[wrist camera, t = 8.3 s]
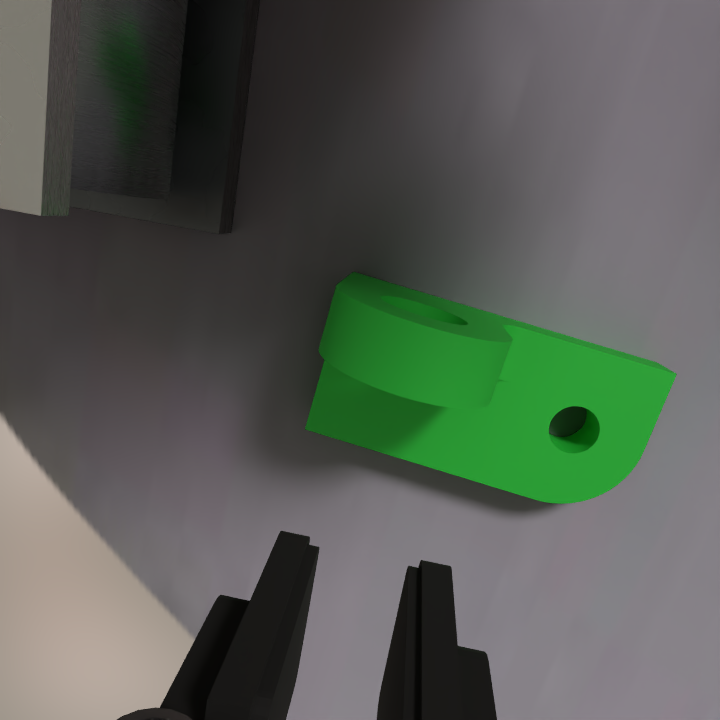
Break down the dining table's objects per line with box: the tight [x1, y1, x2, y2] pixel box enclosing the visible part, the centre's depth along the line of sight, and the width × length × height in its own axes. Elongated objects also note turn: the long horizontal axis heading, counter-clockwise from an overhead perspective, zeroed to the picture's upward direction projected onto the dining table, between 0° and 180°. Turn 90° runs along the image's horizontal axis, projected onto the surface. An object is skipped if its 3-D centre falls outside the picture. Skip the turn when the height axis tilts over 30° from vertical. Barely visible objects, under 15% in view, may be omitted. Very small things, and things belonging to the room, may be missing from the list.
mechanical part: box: [305, 272, 677, 504], centre depth 20 cm, size 12×6×8 cm, turn 74°
